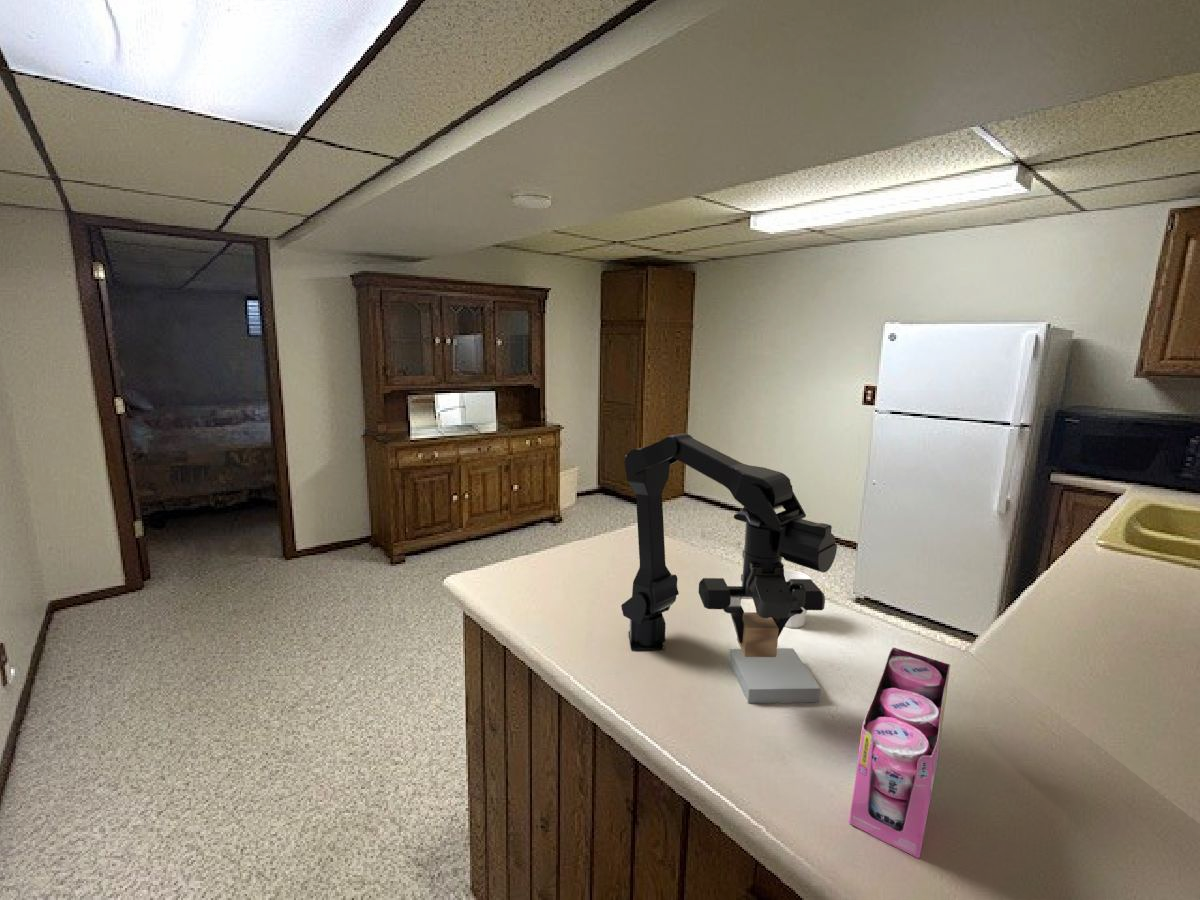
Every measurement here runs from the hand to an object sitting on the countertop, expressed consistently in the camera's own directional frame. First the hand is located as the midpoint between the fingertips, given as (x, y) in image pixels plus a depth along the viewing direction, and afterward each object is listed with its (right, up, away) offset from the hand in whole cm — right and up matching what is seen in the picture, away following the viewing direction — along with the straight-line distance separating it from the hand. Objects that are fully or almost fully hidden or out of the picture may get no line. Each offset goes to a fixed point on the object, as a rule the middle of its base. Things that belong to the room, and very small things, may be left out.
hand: (756, 642), depth 86 cm
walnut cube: (0, -1, 0) cm, 1 cm away
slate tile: (+5, -10, +8) cm, 13 cm away
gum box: (+15, -14, -14) cm, 25 cm away
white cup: (+15, -6, +29) cm, 33 cm away
